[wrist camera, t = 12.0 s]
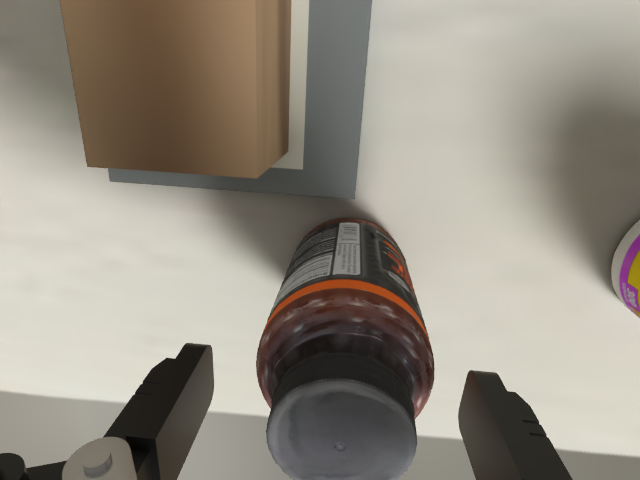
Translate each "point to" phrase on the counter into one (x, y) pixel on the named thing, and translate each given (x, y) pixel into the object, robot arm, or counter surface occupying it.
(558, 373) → the counter surface
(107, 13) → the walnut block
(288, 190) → the mat
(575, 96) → the counter surface
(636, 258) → the supplement bottle
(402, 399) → the supplement bottle
